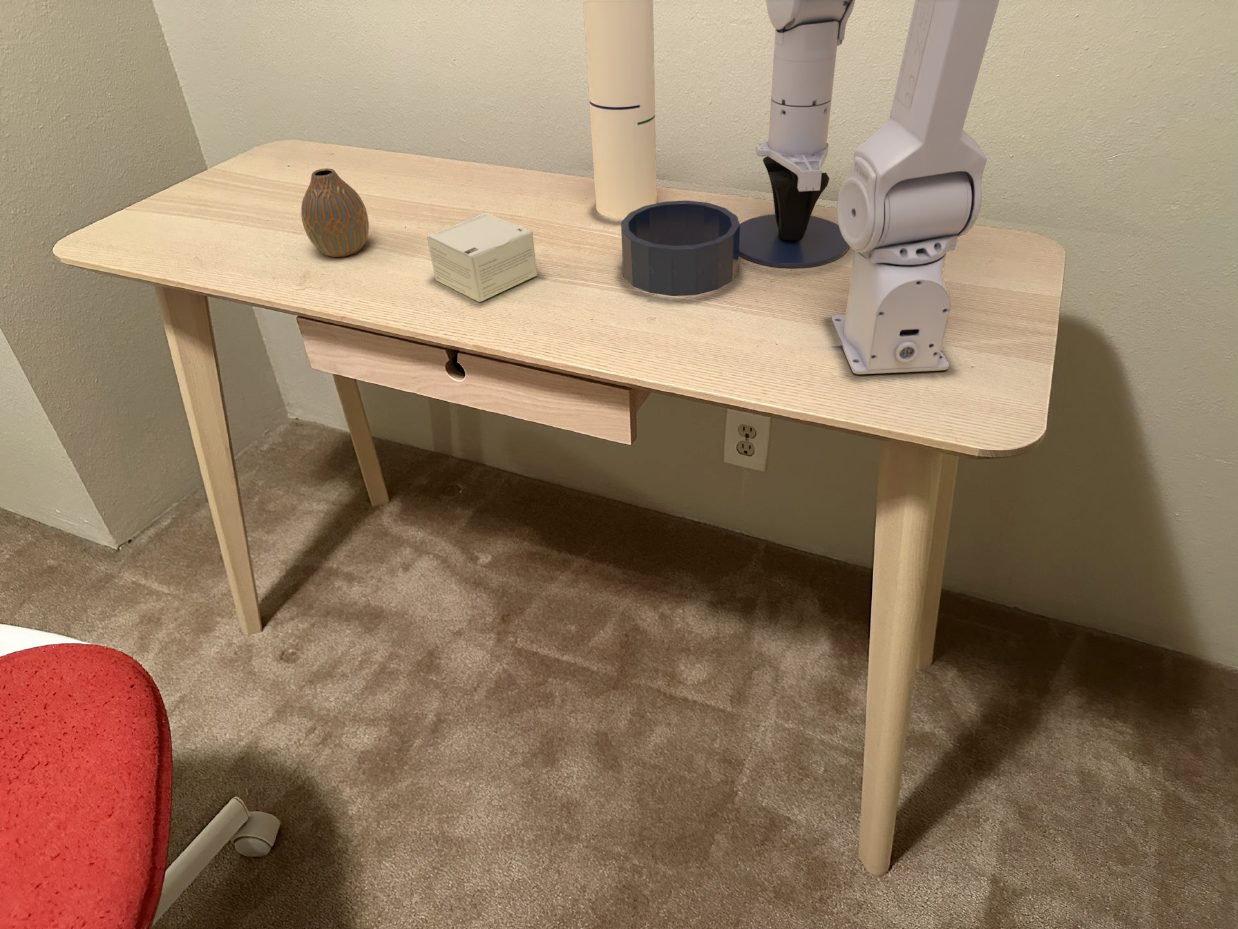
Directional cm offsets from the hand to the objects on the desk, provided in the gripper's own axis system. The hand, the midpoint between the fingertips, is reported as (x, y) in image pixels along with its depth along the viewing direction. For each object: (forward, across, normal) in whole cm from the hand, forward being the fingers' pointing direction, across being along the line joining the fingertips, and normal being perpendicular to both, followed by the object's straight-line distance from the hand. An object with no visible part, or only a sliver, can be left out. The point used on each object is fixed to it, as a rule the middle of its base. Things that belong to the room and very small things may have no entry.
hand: (789, 232), depth 90 cm
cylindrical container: (+2, -12, -17) cm, 21 cm away
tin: (+2, +5, -12) cm, 13 cm away
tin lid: (+1, 0, 0) cm, 1 cm away
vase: (+2, -5, -49) cm, 49 cm away
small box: (+2, +4, -32) cm, 32 cm away
